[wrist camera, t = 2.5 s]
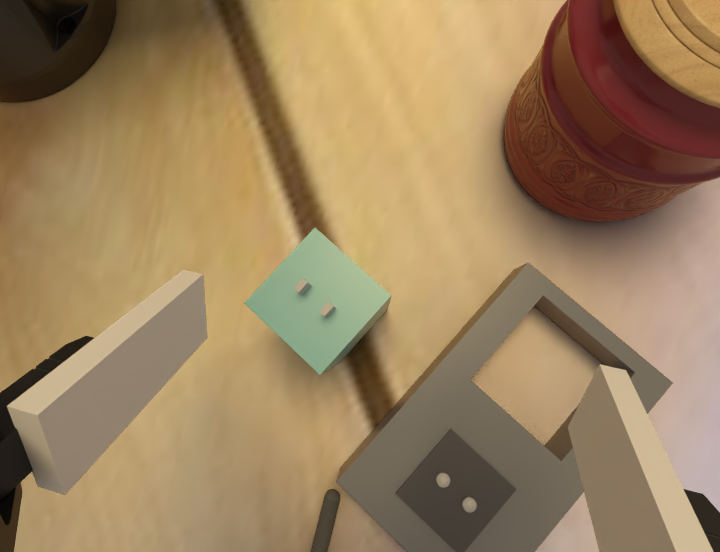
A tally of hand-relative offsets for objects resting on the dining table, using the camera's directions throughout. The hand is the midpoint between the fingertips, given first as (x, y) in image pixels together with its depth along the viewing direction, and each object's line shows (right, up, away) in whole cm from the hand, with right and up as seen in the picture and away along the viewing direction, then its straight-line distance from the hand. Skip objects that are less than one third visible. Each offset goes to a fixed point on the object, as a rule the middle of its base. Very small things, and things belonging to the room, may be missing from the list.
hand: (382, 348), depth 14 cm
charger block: (-2, 0, +16) cm, 16 cm away
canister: (+16, +12, +17) cm, 26 cm away
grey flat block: (+8, -7, +15) cm, 18 cm away
